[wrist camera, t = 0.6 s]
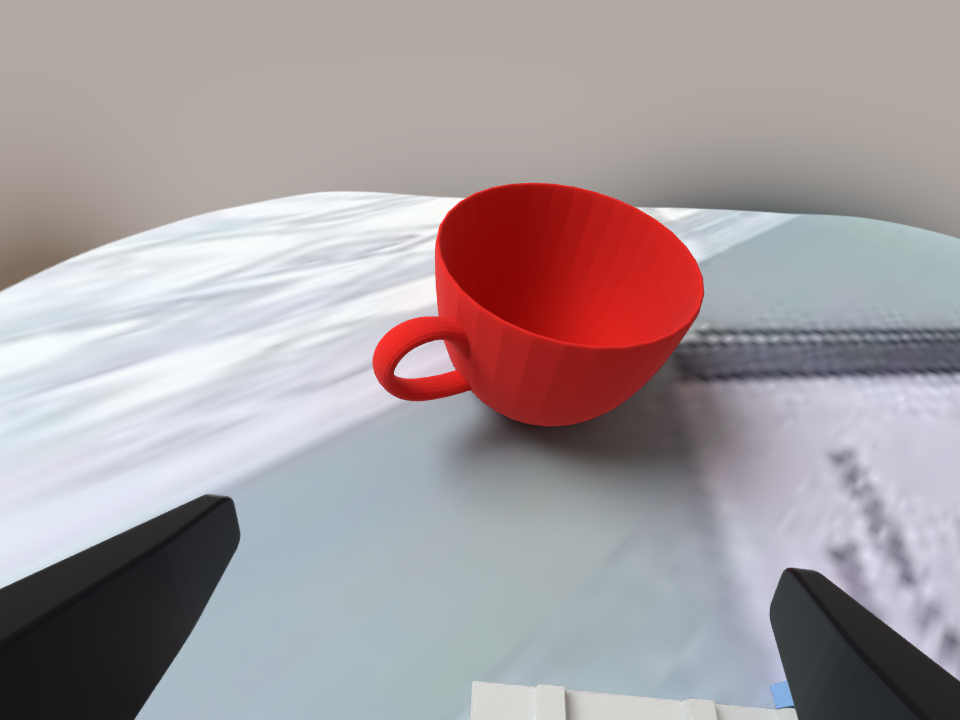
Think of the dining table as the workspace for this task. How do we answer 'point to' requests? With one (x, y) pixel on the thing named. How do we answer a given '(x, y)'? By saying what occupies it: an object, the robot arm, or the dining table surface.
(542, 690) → the white ribbed plate
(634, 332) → the ceramic cup
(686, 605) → the dining table surface
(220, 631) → the dining table surface
